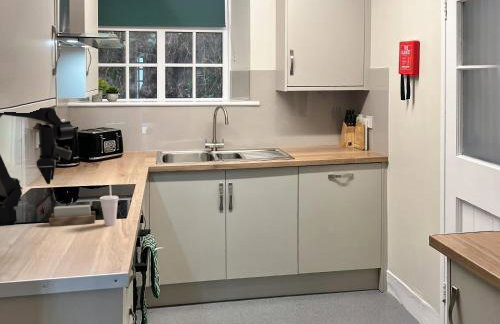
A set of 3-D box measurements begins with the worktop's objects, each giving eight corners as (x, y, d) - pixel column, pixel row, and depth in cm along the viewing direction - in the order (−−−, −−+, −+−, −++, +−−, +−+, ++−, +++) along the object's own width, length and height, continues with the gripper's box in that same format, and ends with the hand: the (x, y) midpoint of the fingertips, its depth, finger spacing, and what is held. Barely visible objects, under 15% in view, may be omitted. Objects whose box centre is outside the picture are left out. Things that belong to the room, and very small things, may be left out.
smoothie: (120, 226, 185) (118, 186, 183) (100, 227, 183) (98, 187, 181) (119, 221, 191) (117, 182, 189) (100, 222, 189) (98, 184, 187)
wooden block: (49, 226, 186) (49, 218, 185) (52, 220, 193) (51, 213, 192) (94, 223, 189) (94, 216, 189) (95, 218, 196) (95, 211, 196)
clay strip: (54, 222, 188) (53, 208, 187) (55, 220, 191) (54, 206, 190) (90, 220, 191) (89, 206, 190) (90, 218, 194) (90, 204, 193)
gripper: (67, 142, 194) (70, 185, 196) (72, 137, 212) (74, 176, 214) (34, 144, 191) (37, 186, 194) (42, 138, 209) (44, 178, 212)
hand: (50, 181), depth 203 cm, fingers open, 9 cm apart
